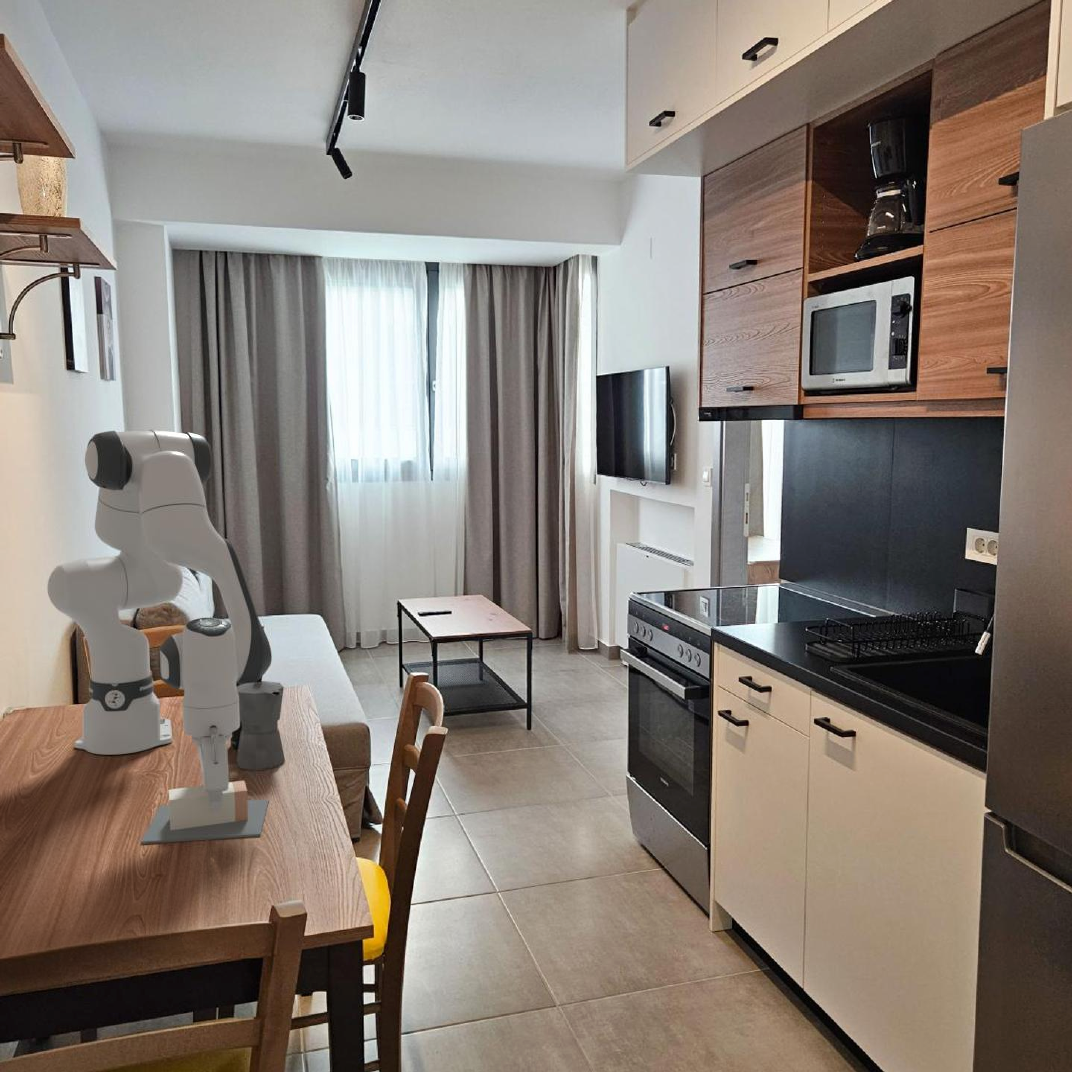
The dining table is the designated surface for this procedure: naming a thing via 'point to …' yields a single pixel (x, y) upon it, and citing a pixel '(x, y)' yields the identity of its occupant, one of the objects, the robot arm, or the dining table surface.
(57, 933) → the dining table surface
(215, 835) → the mat
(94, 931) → the dining table surface
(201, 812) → the pillar
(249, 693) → the coffeepot
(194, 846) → the dining table surface
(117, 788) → the dining table surface
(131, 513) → the robot arm
